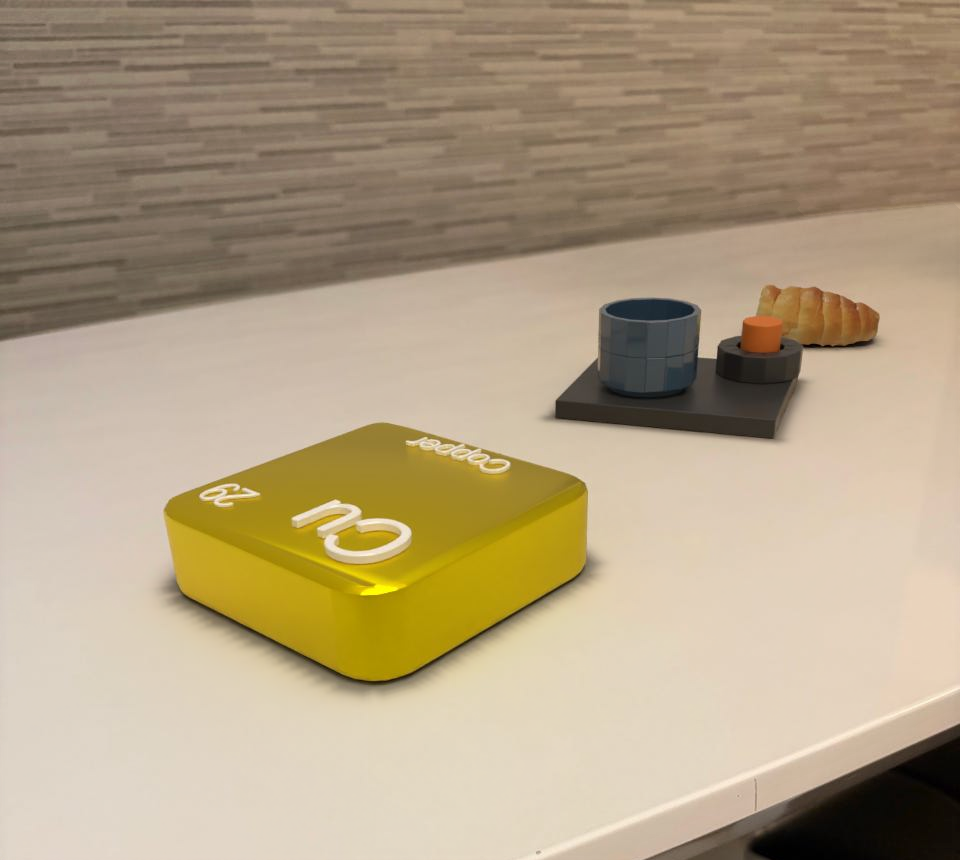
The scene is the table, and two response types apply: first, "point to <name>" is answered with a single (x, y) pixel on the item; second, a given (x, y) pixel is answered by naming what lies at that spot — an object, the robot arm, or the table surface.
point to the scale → (700, 394)
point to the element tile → (378, 546)
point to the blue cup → (648, 346)
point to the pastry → (818, 316)
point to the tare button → (761, 334)
